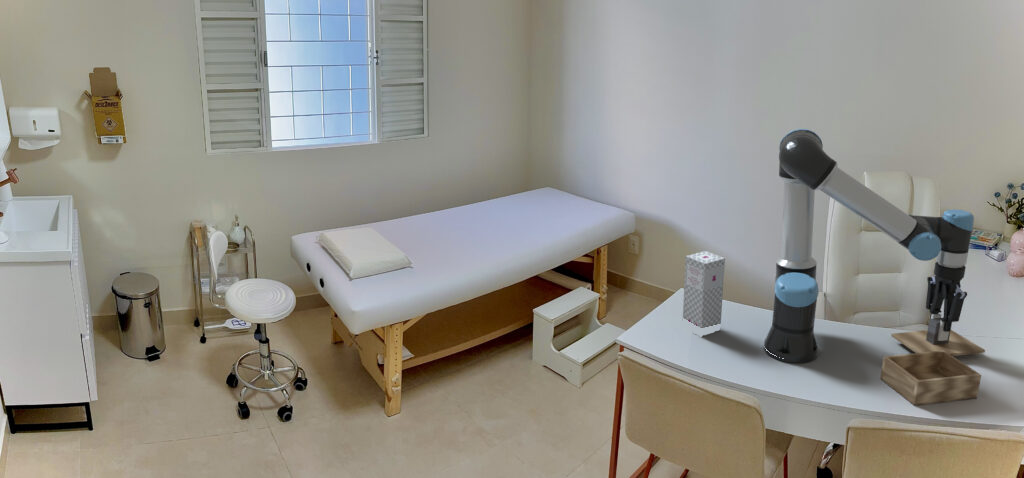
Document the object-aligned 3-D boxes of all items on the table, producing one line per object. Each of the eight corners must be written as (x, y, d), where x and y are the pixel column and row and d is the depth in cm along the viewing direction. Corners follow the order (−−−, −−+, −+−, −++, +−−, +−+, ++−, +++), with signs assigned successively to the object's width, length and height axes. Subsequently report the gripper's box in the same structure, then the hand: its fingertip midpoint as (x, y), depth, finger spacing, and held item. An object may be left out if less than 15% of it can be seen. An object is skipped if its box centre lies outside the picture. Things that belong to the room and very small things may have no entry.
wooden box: (914, 405, 186) (918, 382, 184) (880, 378, 199) (883, 356, 197) (976, 398, 188) (981, 374, 186) (939, 372, 201) (943, 350, 199)
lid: (924, 360, 205) (929, 334, 202) (890, 337, 219) (894, 312, 216) (984, 354, 207) (989, 328, 205) (947, 331, 221) (951, 307, 219)
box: (682, 327, 234) (685, 256, 226) (701, 321, 238) (705, 250, 230) (700, 337, 227) (705, 263, 219) (720, 330, 231) (725, 258, 223)
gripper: (984, 272, 197) (969, 348, 205) (942, 252, 213) (930, 324, 220) (959, 274, 196) (945, 350, 204) (919, 255, 212) (908, 326, 219)
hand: (937, 336), depth 212 cm, fingers open, 3 cm apart
